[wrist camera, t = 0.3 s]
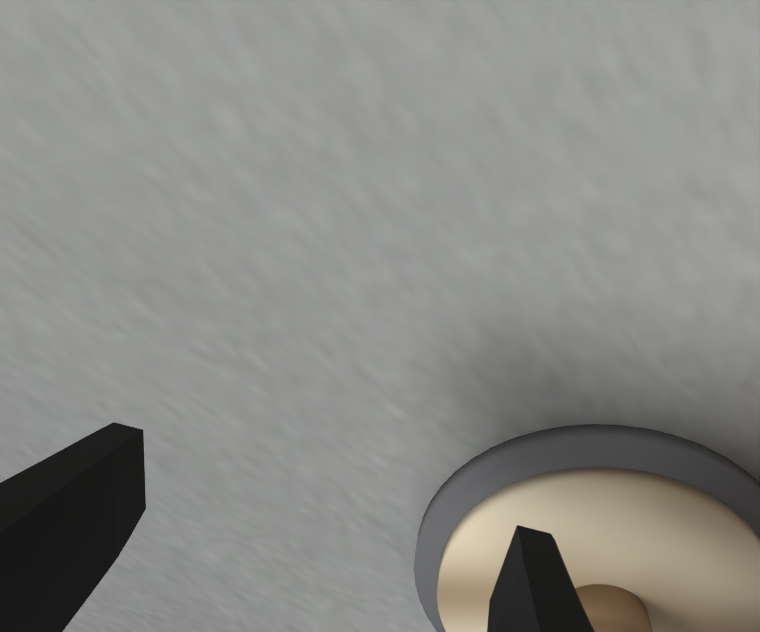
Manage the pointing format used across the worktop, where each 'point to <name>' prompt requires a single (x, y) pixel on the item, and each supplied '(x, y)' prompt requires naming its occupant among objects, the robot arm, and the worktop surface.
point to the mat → (572, 452)
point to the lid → (613, 552)
